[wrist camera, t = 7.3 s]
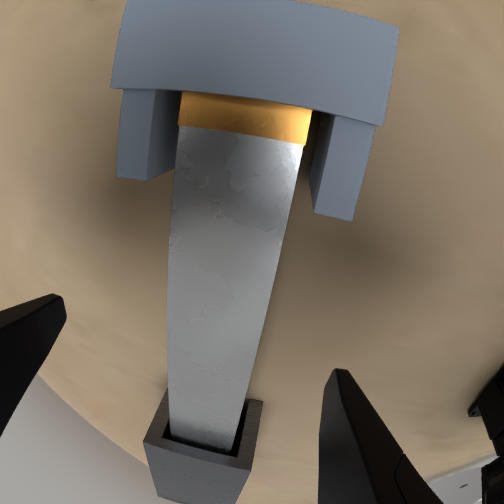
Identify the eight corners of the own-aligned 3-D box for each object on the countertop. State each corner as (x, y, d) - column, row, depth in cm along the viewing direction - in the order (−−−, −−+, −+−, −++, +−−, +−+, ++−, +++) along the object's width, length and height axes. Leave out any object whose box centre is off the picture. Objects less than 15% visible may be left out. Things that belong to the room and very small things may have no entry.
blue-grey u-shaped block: (358, 62, 11) (399, 27, 6) (333, 184, 14) (356, 231, 8) (192, 37, 12) (126, 0, 6) (174, 154, 14) (103, 181, 9)
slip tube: (308, 111, 13) (312, 108, 8) (237, 421, 22) (226, 467, 18) (217, 96, 13) (182, 89, 9) (188, 408, 22) (171, 452, 18)
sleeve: (263, 401, 21) (251, 470, 16) (239, 467, 27) (229, 515, 21) (171, 379, 21) (142, 441, 16) (174, 451, 27) (158, 496, 22)
